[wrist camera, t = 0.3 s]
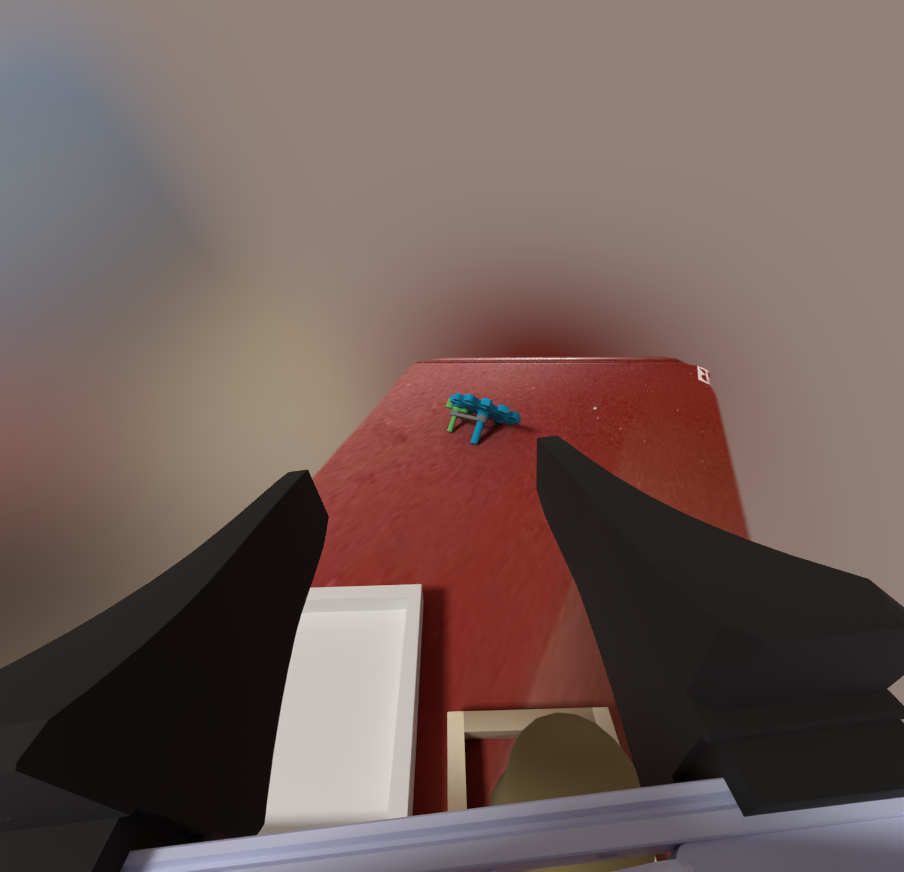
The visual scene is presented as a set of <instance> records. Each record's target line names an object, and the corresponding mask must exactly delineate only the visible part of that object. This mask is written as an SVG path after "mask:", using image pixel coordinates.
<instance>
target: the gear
mask: <svg viewBox="0 0 904 872" xmlns="http://www.w3.org/2000/svg"><path fill="white" fill-rule="evenodd" d="M446 407H447V408H449V409H453V410H451V412H450V415H451V416H452V418H451V421H450V424H449V427H448V430H447V431H448V432H452V431H453V428H454V425H455V422H456V420H457V418H460V419H465V420H469V421H473V422H477V424H476V427H475V430H474V433H473V436H472V439H471V441H470V443H473V444H476V445H477V444H478V441H479V438H480V435H481V432H482V429H483V426H484V424H487V422H488V419H491V420H493V421H494V422H496V423H502V422H504V423H506V424H509V425H513V424H514V423H515V424H519V423H520V420H521V418H520V417H519V416H520V414H519V413H517V412H515V411H510V412H508V410H509V407H507V406H505V405H502V404H499V407H497V406H495V405H493V404H492V400H490V399H486V398H482V401H481V400H479V399H477V398H476V397H475V396H474V395H471V394H465V396H463V395H461V394H459V393H455V396H453V395H451V398H449V400H448V403H447V405H446ZM461 412H462V413H465V414H468V413H469V414H473V413H476V414H477V417H475V416H470V415H465V414H462V413H461Z"/></svg>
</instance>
